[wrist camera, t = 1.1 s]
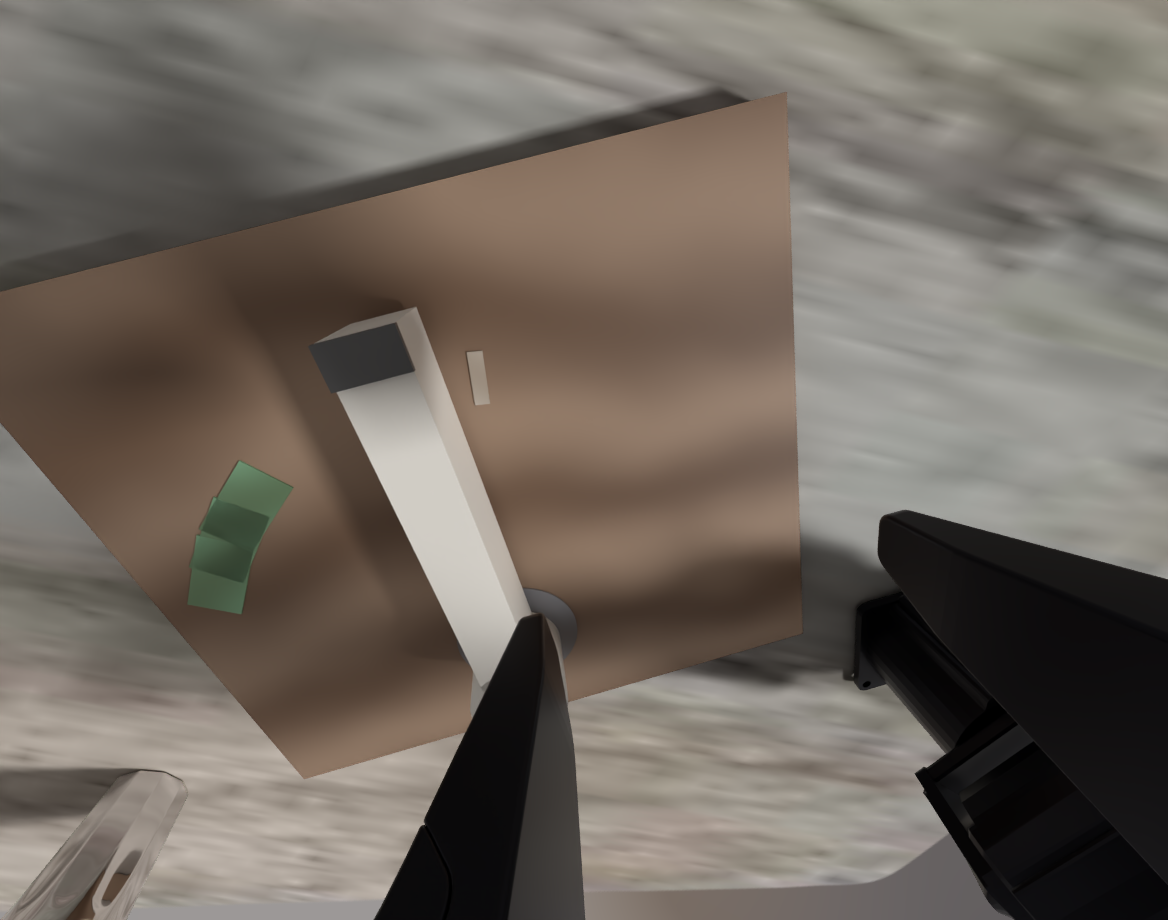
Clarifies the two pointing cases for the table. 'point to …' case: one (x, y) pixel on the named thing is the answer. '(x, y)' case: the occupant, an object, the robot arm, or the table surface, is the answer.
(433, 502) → the peg lever
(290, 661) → the plate
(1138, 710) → the robot arm
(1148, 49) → the table surface
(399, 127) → the table surface
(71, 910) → the milkshake
